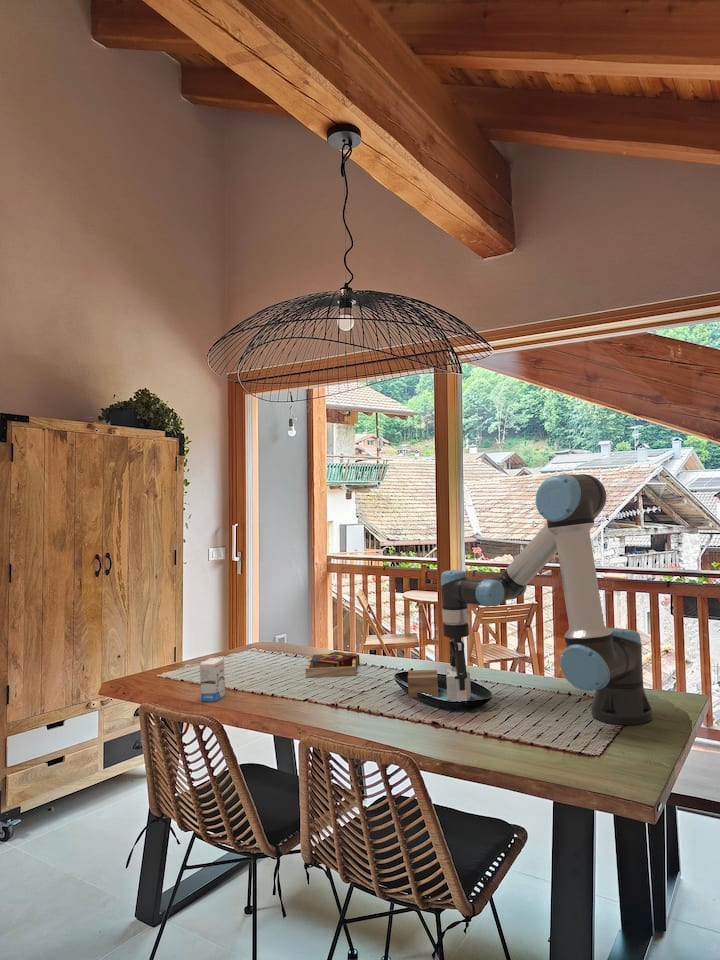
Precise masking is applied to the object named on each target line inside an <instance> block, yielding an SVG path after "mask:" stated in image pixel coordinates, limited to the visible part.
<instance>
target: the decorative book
mask: <svg viewBox="0 0 720 960" xmlns="http://www.w3.org/2000/svg"><path fill="white" fill-rule="evenodd" d="M349 653H350V652H343V651H342V652H341V651H336V650H335V651H332V652H330V653H327V654H328V655H322V657H320V658H315V659H312V660H310V662H313V667H312V668H325V667H348V666H352V662H353V659H355V658H356V667H358V666H361V665H360V663H361V662H360V654H357V653H356V654H349Z"/></svg>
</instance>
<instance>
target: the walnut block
mask: <svg viewBox="0 0 720 960" xmlns="http://www.w3.org/2000/svg"><path fill="white" fill-rule="evenodd" d="M407 673H408V674H407V692H408V695H407V696H408V698H419V697H418V696H417V693H418V692H419V693H425V694H429V695H432V696H435V697H434V698H436V697H437V698H438V697H439V683H438V682H439V681H438V678H439V677H438V669H420V670H419V669H418V670H417V669H415V670H414V669H413V670H412V669H411V670H408V672H407Z"/></svg>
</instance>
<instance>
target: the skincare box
mask: <svg viewBox="0 0 720 960" xmlns="http://www.w3.org/2000/svg"><path fill="white" fill-rule="evenodd" d="M466 672H467V678H466V686H467V700H468V701H469V700H470V699H471V696H472V691H471V688H472V687H471V672H468V671H466ZM461 674H463V673H461ZM455 676H457V672H450V673H449V674H448V675H447V677H446V676H445V678H447V680H446V697H447V701H448V700H454V701H453V702H456V701H457V680H456V679H455ZM455 700H456V701H455Z"/></svg>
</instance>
